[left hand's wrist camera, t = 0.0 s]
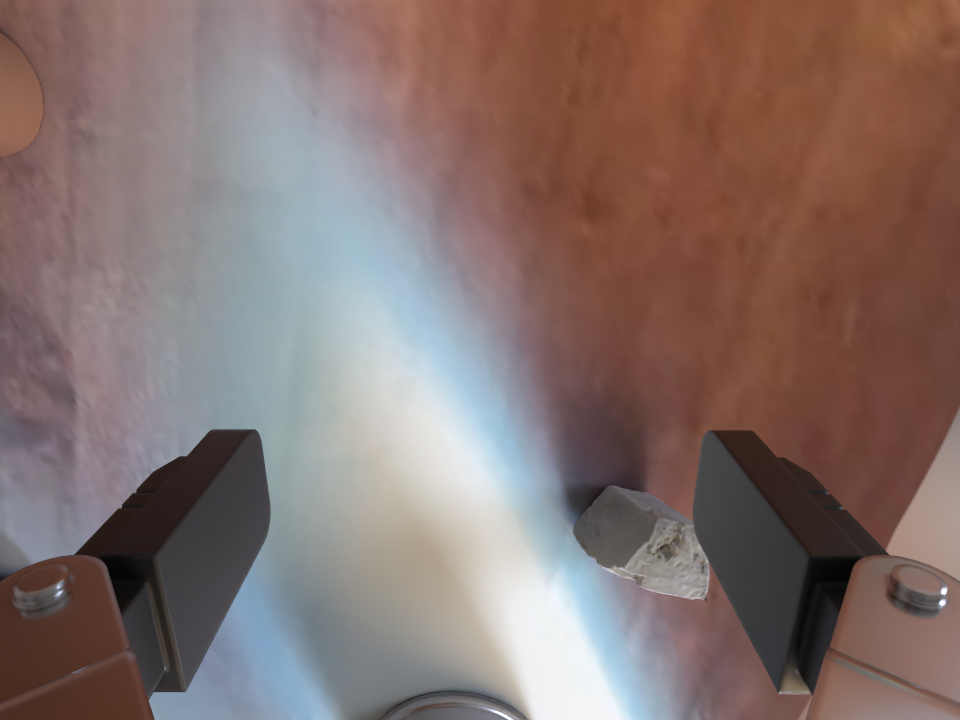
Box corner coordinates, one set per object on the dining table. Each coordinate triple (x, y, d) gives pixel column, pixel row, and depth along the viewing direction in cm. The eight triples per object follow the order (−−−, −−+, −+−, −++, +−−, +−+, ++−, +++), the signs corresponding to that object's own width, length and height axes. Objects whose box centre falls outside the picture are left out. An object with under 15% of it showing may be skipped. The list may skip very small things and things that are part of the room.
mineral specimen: (685, 561, 46) (696, 642, 39) (571, 529, 48) (561, 602, 40) (715, 479, 44) (734, 549, 36) (594, 447, 45) (588, 509, 38)
